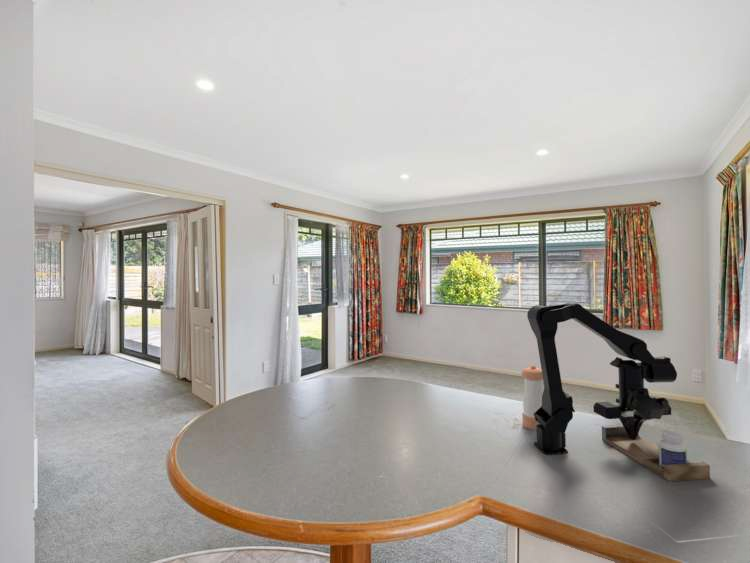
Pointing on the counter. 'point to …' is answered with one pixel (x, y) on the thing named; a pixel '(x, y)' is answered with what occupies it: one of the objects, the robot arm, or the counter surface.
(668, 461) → the pill bottle
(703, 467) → the brown long shallow piece
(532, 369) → the pepper shaker
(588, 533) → the counter surface
